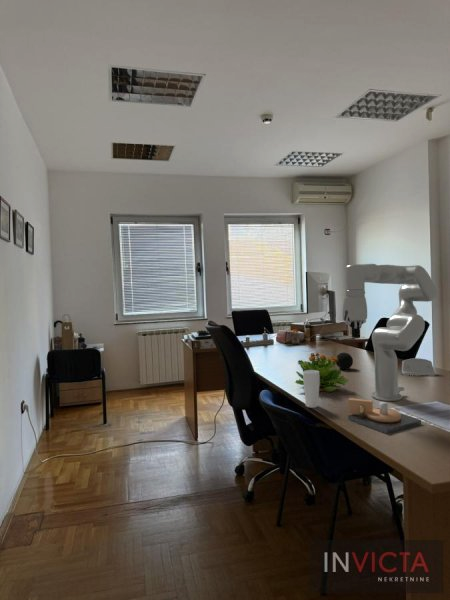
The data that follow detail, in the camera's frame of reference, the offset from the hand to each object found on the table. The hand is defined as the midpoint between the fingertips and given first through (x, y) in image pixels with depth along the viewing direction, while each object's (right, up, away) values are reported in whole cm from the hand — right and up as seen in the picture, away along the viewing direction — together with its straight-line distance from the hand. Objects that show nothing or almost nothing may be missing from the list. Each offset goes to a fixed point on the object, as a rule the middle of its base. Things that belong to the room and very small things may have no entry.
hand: (356, 337), depth 169 cm
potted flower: (-10, -28, +31) cm, 43 cm away
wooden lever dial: (+1, -28, -17) cm, 33 cm away
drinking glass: (-18, -30, +3) cm, 35 cm away
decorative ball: (+17, -26, +72) cm, 79 cm away
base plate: (+4, -30, -18) cm, 35 cm away
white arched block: (+52, -26, +54) cm, 79 cm away
